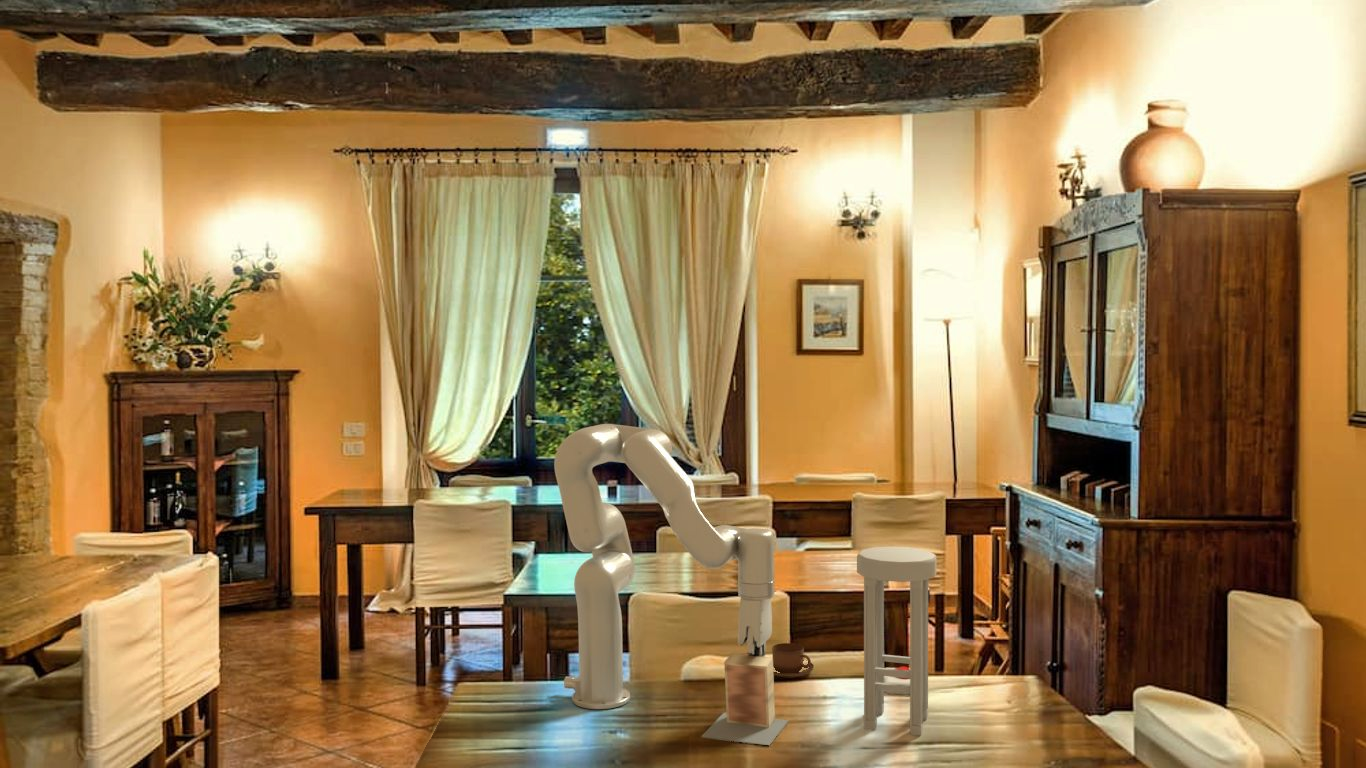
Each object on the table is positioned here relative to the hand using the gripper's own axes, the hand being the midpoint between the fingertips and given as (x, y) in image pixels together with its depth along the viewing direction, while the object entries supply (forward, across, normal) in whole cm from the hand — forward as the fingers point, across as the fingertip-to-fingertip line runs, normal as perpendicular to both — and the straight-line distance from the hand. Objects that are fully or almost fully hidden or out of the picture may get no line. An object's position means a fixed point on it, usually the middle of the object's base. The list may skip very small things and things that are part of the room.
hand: (757, 675), depth 224 cm
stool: (+9, -6, +28) cm, 30 cm away
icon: (+9, -29, +25) cm, 39 cm away
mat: (+9, +8, 0) cm, 12 cm away
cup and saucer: (+9, -30, -1) cm, 31 cm away
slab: (+8, +4, 0) cm, 9 cm away
